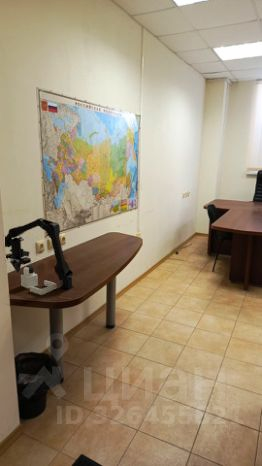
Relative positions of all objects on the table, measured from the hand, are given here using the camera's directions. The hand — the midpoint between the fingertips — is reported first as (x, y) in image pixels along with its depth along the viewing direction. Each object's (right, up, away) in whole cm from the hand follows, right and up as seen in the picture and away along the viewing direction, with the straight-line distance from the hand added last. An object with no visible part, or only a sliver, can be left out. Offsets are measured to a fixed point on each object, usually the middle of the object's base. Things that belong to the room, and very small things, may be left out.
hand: (17, 271), depth 194 cm
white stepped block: (+9, -8, -4) cm, 13 cm away
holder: (+19, -9, -10) cm, 23 cm away
